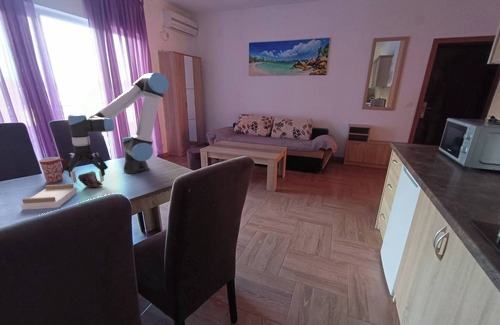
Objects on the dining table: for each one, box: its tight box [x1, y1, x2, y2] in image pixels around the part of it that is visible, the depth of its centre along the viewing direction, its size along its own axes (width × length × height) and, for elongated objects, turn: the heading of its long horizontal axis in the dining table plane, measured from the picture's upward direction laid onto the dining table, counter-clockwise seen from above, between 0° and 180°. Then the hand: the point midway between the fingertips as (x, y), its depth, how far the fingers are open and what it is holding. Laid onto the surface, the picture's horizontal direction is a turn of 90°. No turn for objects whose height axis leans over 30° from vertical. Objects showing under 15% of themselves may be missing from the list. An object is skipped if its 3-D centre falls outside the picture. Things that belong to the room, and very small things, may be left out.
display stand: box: [20, 183, 78, 211], centre depth 107 cm, size 14×16×5 cm
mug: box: [38, 156, 67, 184], centre depth 131 cm, size 13×9×14 cm
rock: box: [78, 170, 103, 188], centre depth 124 cm, size 12×9×10 cm
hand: (88, 182), depth 124 cm, fingers open, 13 cm apart
